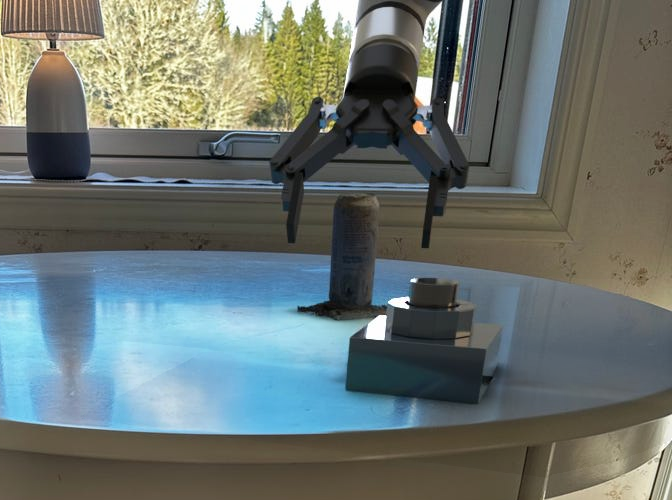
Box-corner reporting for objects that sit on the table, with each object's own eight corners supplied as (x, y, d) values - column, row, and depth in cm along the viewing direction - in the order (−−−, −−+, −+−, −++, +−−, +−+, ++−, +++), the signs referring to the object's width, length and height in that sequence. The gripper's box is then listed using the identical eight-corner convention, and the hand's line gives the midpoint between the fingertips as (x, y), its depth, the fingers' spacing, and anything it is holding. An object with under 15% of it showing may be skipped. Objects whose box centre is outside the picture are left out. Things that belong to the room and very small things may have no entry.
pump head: (458, 307, 74) (462, 279, 73) (451, 315, 71) (455, 286, 70) (412, 304, 75) (415, 276, 74) (403, 311, 72) (406, 282, 71)
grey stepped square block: (495, 375, 78) (507, 298, 75) (477, 404, 70) (490, 319, 67) (374, 363, 81) (381, 289, 78) (344, 390, 73) (351, 309, 70)
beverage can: (343, 330, 94) (354, 196, 88) (292, 318, 100) (299, 191, 94) (407, 321, 99) (422, 193, 93) (355, 310, 104) (365, 189, 98)
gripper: (498, 100, 103) (480, 266, 97) (270, 98, 108) (240, 256, 103) (509, 38, 96) (489, 214, 90) (264, 40, 101) (232, 206, 95)
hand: (357, 237), depth 96 cm, fingers open, 13 cm apart
